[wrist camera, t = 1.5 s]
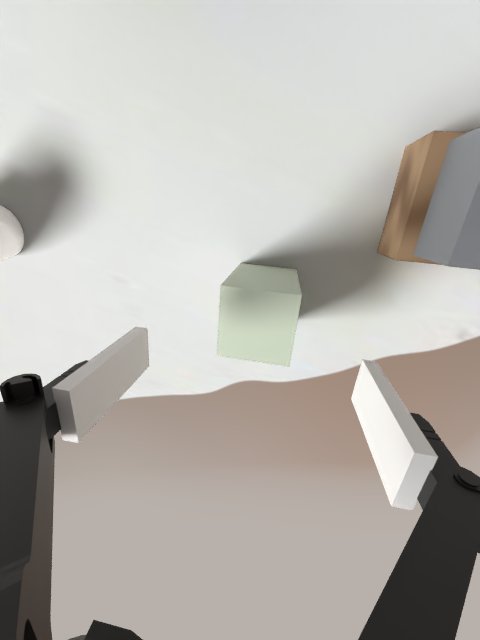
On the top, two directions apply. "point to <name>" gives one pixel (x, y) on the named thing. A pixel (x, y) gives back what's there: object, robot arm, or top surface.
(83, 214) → the top surface
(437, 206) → the tower top
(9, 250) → the figurine
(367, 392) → the robot arm
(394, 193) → the tower base
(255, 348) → the sage block
